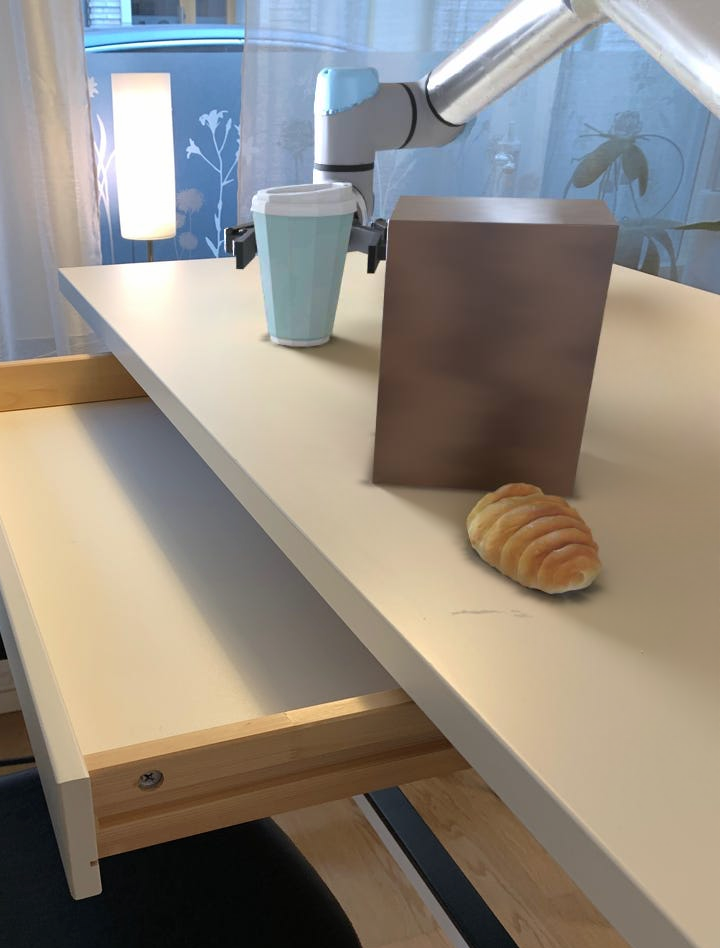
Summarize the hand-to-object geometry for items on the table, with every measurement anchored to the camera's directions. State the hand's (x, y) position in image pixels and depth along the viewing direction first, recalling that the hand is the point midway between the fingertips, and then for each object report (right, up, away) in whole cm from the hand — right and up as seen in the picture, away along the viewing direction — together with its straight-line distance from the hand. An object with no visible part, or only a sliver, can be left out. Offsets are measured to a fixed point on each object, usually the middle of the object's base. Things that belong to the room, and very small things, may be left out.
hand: (304, 257), depth 104 cm
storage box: (+12, -22, -21) cm, 33 cm away
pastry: (+12, -34, -40) cm, 54 cm away
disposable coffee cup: (0, -8, +3) cm, 8 cm away
